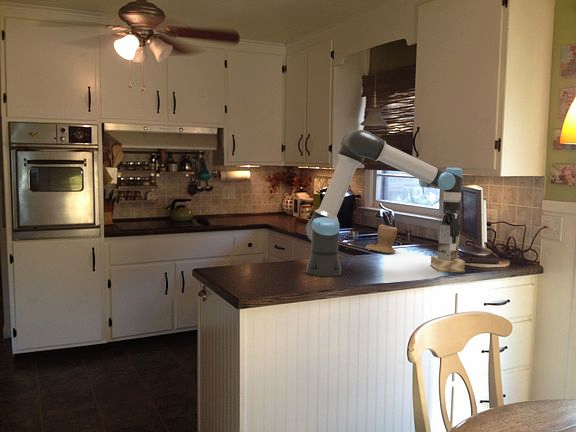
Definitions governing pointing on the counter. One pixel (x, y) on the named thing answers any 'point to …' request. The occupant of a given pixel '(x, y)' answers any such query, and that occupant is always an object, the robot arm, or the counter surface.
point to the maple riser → (447, 264)
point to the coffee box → (447, 243)
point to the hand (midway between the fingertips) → (448, 248)
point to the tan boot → (384, 239)
